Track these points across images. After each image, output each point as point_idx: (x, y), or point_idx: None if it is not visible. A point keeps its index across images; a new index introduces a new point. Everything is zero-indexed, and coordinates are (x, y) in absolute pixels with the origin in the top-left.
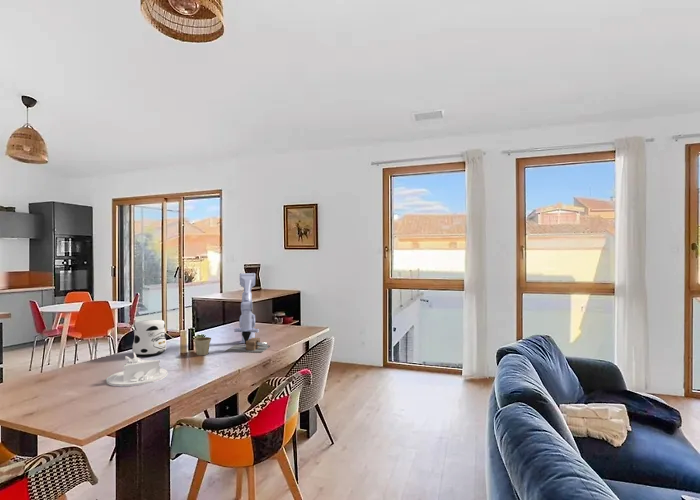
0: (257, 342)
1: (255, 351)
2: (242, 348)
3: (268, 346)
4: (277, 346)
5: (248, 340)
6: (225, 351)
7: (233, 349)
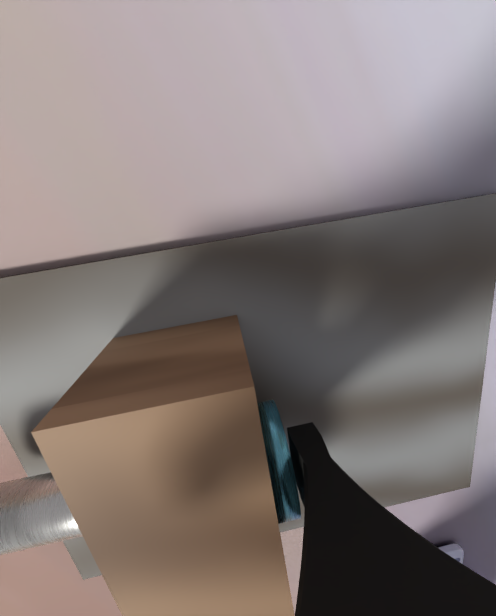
0: None
1: (51, 295)
2: (327, 379)
3: (76, 548)
4: (4, 592)
5: (239, 469)
6: (489, 195)
7: (418, 301)
